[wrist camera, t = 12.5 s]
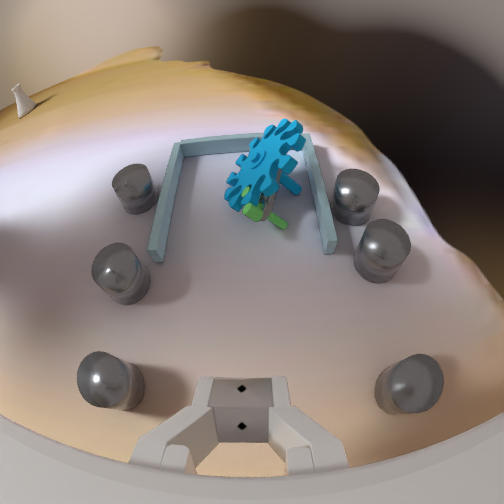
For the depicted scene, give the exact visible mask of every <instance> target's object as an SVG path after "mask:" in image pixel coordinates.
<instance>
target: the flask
mask: <svg viewBox="0 0 504 504" xmlns="http://www.w3.org/2000/svg"><path fill="white" fill-rule="evenodd" d="M12 91H13V92H14V94H15V97H16V102H17V110H18V117H19V118H21V117H23V116H24V115H26V114H27V113H29V112H30V111H31V110H32V109H33V108H34V107H35V106H36V105H37V104H36V103H35V102H34V101H33V100H31V99H30V98H29V97H28V96H27V95H26V94H25V93H24V92H23V91H22V89H21V87H20V84H18V85H17V86H15V87H14V88H13V89H12Z"/></svg>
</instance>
